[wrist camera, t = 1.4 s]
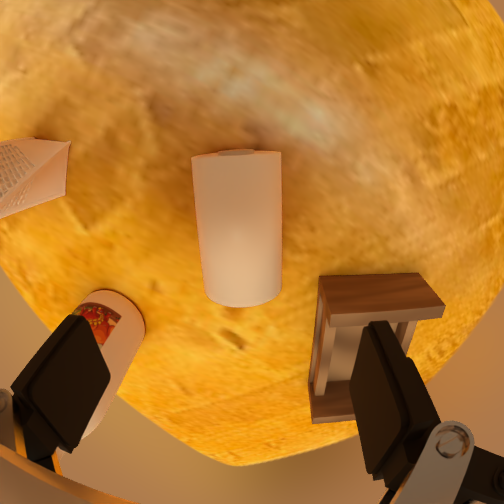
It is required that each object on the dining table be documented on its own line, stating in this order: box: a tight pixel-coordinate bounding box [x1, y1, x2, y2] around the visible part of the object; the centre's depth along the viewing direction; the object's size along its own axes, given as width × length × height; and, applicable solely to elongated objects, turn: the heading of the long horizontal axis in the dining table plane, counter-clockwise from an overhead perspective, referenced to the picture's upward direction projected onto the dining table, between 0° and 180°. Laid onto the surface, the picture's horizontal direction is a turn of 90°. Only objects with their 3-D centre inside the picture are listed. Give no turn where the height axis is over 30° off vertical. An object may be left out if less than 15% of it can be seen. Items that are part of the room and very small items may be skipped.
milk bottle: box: [56, 290, 145, 461], centre depth 20 cm, size 8×8×20 cm
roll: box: [191, 149, 282, 307], centre depth 21 cm, size 10×6×6 cm, turn 2°
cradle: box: [308, 273, 446, 424], centre depth 25 cm, size 14×10×6 cm
